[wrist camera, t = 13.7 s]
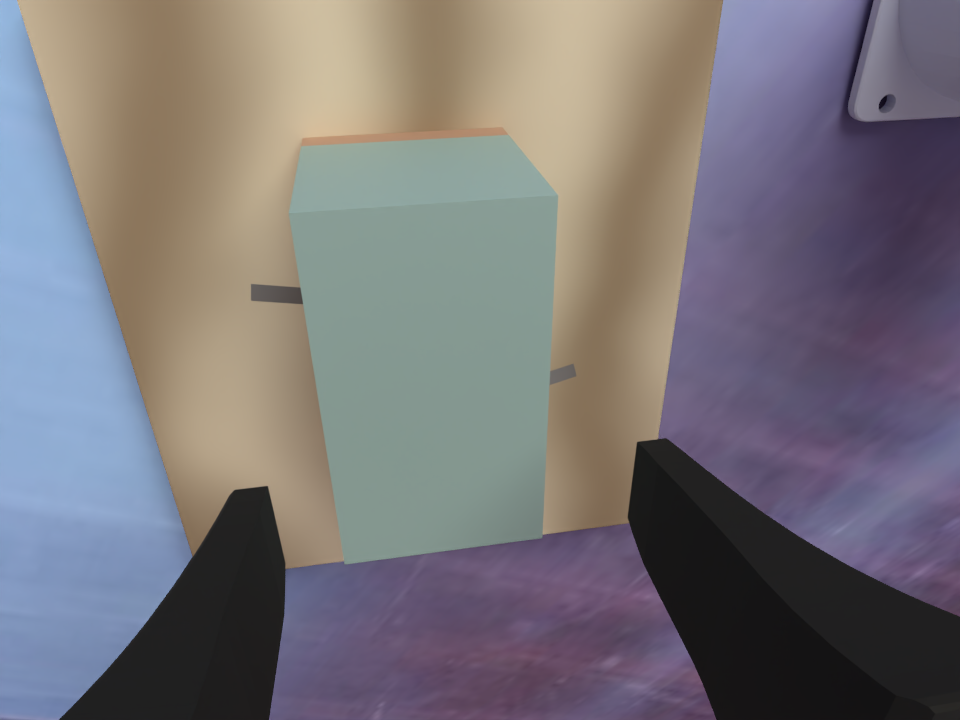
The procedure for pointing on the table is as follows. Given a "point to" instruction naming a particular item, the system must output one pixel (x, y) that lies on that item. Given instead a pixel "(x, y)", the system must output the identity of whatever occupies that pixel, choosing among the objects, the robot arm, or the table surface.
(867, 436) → the table surface
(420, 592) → the table surface
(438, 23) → the birch board
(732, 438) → the table surface
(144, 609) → the table surface
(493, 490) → the block
